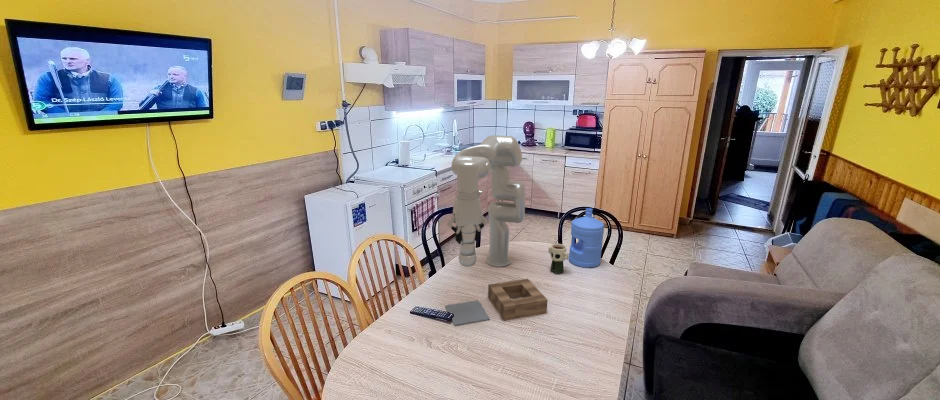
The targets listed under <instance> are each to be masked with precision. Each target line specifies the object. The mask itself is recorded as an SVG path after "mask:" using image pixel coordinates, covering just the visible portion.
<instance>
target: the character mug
mask: <svg viewBox="0 0 940 400" xmlns="http://www.w3.org/2000/svg"><path fill="white" fill-rule="evenodd" d="M548 254H549V255H550V259H551V260H552V261H551V265H550V272H551V273H555V274H561V273H564V271H565V269H564V261H565V260H569V253H567V246H566V245H565V244H562V243H553V244H551V246H549V247H548Z"/></svg>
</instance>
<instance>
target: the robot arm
mask: <svg viewBox="0 0 940 400" xmlns="http://www.w3.org/2000/svg"><path fill="white" fill-rule="evenodd" d="M522 161H523V153H522V150H521V148H520V144H519V142H518V140H517V139H516V138H515V137H514V136H512V135H499V134H497V135H495V134H493V135H492V134H491V135H488V136H487V137H485V139H483V140H482V142H481V143H480V144H479V145H474V146H471V147H468V148H463V149H461V150H460V151H458V152H457V153H456V154H455V155H454V157H453V159H452V161H451V171H452V172H453V174H454V175H456V177H457V178H456V184H457V185H456V186H457V187H456V194H457V195H456V197H455V198H454V201H453V206H452V207H453V208H452V217H451V218H450V219H449V220H448V221H447V222H446V225H447V226H448V228H450V229H451V230H452V231H453V232H454V233H455V236H454V239H455V242H457V244H458V245H460V244H461V234H460V230H461V227H462V226H466V225H469V224H472V225H475V226H476V236H475V243H479V239H480V233H481V231H482V229H483V228H484V227H485V225H486V224H487V223H488V222H489V246H488V247H489V251H488V252H489V253H488V254H489V256H487V257H486V259H485V262H486V264H487V265H489V266H492V267H494V268H503V267H504V268H505V267H507V266H509V265H511V263H512V259H511V258H510V257H509V246H510V245H509V242H510V229H509V228H510V227H509V225H508V224H507V223H514V224H520V223H522V222H523V221H524V219H525V214H526V213H525V211H526V206H525V205H526V187H525V184H524V183H523V182H522V181H516V180H511V179H510V176H511V175H510V168H509V167H513V168H516V167H518V166H520V165H521V163H522ZM490 171H491V195H492V198H493V199H496V200H497V201H492V202H491V203H490V204H489V205H488V209H487V211H488V218H489V219H487V218H486V217H485V216H484V215H483V214H482V213H483V211H482V204H481V199H480V197H479V196H480V195H483V191H482V190H479V179H481V178H485V177H486V176H488V175H489V173H490ZM453 224H455V226H454V225H453Z"/></svg>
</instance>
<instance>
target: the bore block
mask: <svg viewBox="0 0 940 400" xmlns="http://www.w3.org/2000/svg"><path fill="white" fill-rule="evenodd" d="M487 299H489V301H490V303H492V305H493V307H494V308H495V310H496V311H497V313H498V314H499V315H500V317H501V318H502V319H503V321H504V322H505V321H510V320H516V319H521V318H522V319H523V318H526V317H533V316H537V315H543V314H547V312H548V298H547V297H546V296H545V295H544V294H543V293H542V292H541V291H540V290H539V289H538V288H537V287H536V286H535V285H534V284H533V282H532V281H531V280H530V279H529V278H522V279H517V280H510V281H504V282H496V283H489V284H487Z"/></svg>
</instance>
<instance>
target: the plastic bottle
mask: <svg viewBox="0 0 940 400" xmlns="http://www.w3.org/2000/svg"><path fill="white" fill-rule="evenodd" d="M460 234H461V244H459V254H458V262H459V264H460V265H461V266H462V267H467V268H469V267H473V266H474V265H475V264H476V262H477V255H476V245H475V244H476V241H475V236H476V226H475V225H472V224H469V225H466V226H462V227H461V230H460Z"/></svg>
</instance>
